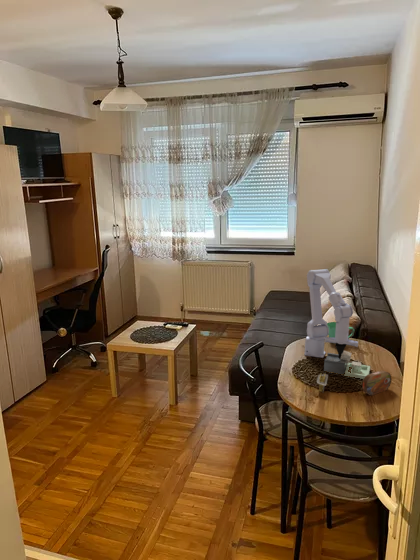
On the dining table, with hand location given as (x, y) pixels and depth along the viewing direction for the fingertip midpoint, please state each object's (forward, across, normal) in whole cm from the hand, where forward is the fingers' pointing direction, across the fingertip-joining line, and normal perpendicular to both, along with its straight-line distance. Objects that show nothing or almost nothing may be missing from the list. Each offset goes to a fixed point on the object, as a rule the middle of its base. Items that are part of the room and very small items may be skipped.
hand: (340, 358), depth 189 cm
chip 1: (+1, +2, 0) cm, 2 cm away
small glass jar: (+7, -4, -22) cm, 23 cm away
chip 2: (+3, +5, 0) cm, 6 cm away
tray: (+6, +8, 0) cm, 10 cm away
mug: (+6, -5, +38) cm, 38 cm away
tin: (+6, +17, -15) cm, 23 cm away
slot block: (+6, -2, 0) cm, 6 cm away
